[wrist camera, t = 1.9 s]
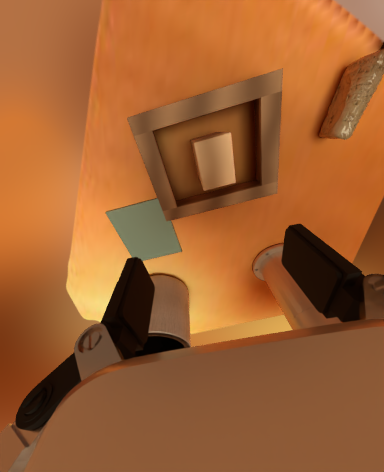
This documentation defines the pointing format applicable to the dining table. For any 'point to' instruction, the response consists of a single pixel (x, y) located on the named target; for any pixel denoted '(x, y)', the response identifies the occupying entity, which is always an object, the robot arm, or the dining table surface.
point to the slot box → (258, 89)
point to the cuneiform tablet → (353, 96)
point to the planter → (168, 317)
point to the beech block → (214, 159)
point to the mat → (145, 230)
